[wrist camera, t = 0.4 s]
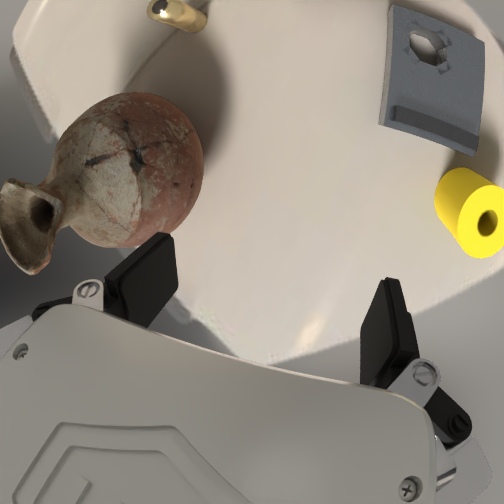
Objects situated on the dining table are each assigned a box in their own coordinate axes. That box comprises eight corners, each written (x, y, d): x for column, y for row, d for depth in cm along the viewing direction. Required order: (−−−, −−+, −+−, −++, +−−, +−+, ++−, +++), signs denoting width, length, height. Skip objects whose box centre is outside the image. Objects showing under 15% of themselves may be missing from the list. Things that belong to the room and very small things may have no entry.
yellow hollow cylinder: (442, 159, 30) (469, 175, 22) (490, 177, 28) (521, 196, 20) (427, 221, 35) (447, 251, 27) (474, 233, 33) (498, 263, 25)
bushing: (185, 13, 29) (148, -2, 20) (208, 10, 28) (174, -9, 19) (183, 34, 31) (145, 22, 22) (206, 31, 30) (171, 16, 22)
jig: (387, 13, 22) (395, -2, 17) (472, 46, 19) (490, 40, 14) (378, 124, 31) (386, 126, 26) (462, 152, 28) (480, 160, 23)
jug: (241, 204, 43) (121, 344, 18) (140, 220, 50) (25, 315, 26) (208, 73, 34) (20, 65, 9) (109, 117, 41) (-36, 165, 16)
